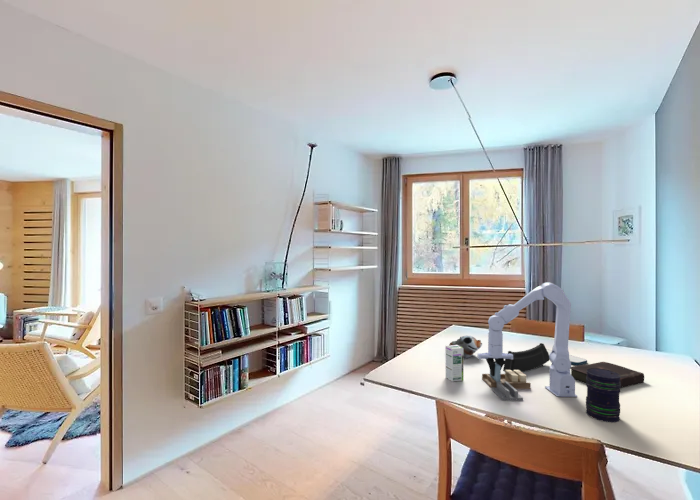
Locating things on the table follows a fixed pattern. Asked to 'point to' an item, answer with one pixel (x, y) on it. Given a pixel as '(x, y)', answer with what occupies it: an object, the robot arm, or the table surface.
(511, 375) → the offcut
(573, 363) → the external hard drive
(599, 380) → the storage jar
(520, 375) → the offcut
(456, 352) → the syrup box
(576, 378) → the diary
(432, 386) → the table surface
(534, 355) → the magazine
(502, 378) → the rack
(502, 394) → the holder
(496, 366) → the tall board
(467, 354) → the lucky cat figurine
